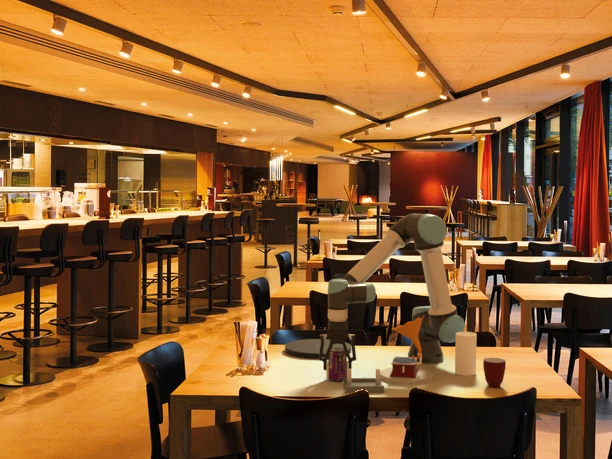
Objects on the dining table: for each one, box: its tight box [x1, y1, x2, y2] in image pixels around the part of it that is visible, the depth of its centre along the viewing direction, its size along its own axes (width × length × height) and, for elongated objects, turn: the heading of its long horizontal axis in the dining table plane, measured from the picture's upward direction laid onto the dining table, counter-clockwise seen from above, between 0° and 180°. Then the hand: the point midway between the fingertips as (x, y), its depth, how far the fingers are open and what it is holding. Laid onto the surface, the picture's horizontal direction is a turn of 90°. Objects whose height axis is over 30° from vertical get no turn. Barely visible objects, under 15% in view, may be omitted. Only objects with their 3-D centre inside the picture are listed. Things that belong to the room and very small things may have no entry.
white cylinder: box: [454, 331, 478, 377], centre depth 306 cm, size 8×8×16 cm
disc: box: [284, 338, 352, 360], centre depth 346 cm, size 30×30×3 cm
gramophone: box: [380, 316, 433, 386], centre depth 298 cm, size 20×20×25 cm
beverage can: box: [327, 348, 348, 382], centre depth 295 cm, size 7×7×12 cm
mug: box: [482, 357, 507, 389], centre depth 287 cm, size 10×8×10 cm
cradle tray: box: [343, 368, 385, 394], centre depth 283 cm, size 14×12×7 cm
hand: (337, 378), depth 296 cm, fingers closed on beverage can, 7 cm apart
